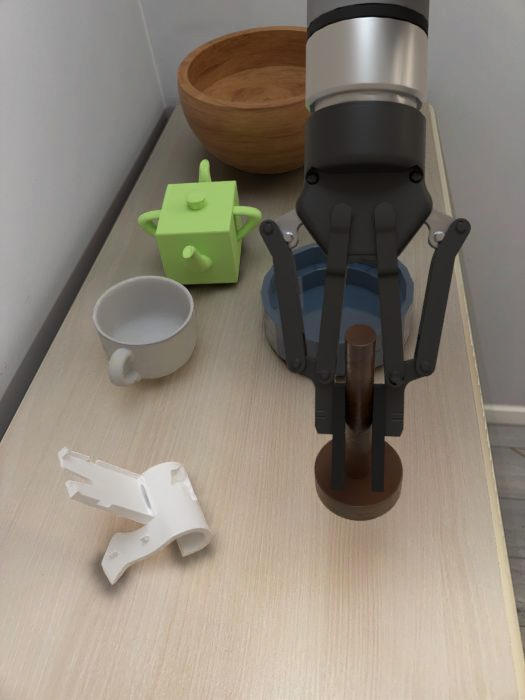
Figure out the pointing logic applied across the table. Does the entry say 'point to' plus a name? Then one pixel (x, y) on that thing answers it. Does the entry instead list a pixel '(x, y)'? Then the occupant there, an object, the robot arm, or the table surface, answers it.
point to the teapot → (201, 230)
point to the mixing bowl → (356, 306)
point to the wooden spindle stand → (359, 440)
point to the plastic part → (139, 508)
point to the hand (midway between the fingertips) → (357, 484)
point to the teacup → (145, 328)
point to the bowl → (249, 97)
